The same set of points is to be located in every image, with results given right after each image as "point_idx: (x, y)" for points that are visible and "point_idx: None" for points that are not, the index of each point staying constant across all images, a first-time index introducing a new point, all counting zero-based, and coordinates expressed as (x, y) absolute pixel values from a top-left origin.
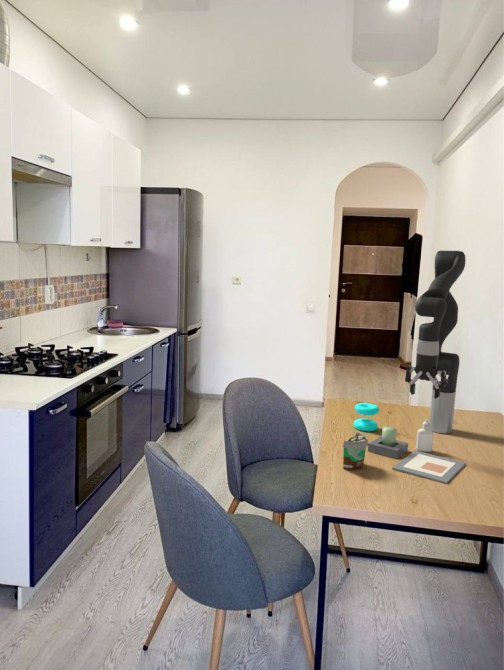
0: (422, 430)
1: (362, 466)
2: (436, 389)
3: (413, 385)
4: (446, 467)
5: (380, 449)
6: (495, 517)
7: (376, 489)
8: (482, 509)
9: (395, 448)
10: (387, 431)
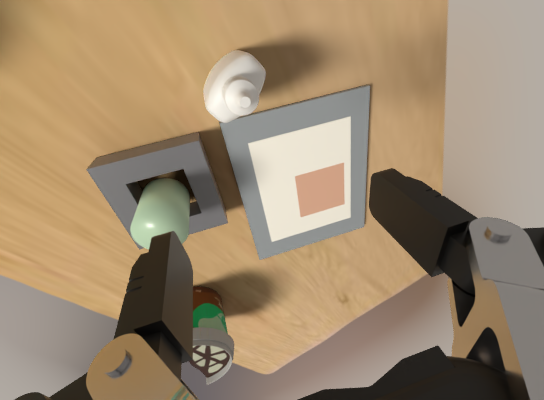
0: (235, 115)
1: (220, 298)
2: (442, 267)
3: (192, 353)
4: (342, 166)
5: None
6: None
7: (290, 317)
8: None
9: (212, 214)
10: None
